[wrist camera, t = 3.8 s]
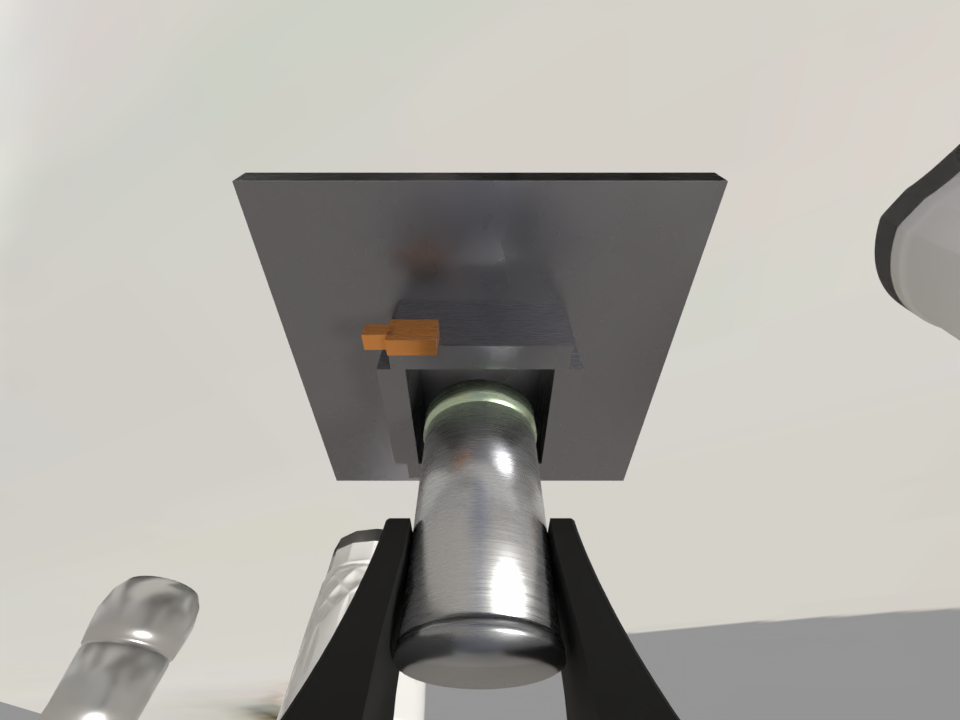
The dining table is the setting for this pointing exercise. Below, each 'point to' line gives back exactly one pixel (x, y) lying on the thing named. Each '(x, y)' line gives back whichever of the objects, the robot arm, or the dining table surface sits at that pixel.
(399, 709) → the white cup
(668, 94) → the dining table surface
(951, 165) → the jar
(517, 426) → the silver metal canister
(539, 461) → the stand base
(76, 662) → the plastic bottle
